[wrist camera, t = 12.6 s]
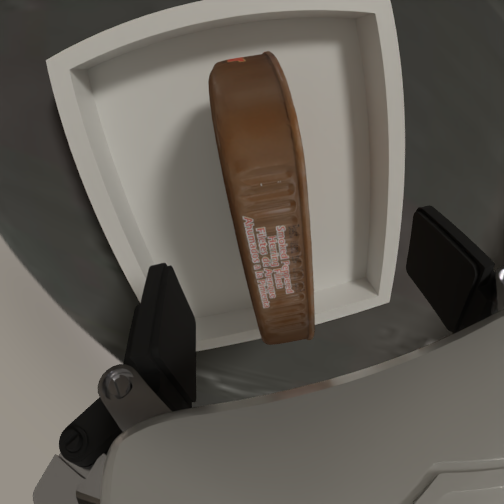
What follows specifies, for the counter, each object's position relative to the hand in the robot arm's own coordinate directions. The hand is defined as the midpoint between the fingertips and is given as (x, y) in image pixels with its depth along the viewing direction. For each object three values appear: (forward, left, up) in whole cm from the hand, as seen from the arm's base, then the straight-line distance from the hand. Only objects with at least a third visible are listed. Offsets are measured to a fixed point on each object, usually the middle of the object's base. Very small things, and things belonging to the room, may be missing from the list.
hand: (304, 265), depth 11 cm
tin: (+1, 0, -9) cm, 9 cm away
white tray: (+1, 0, -9) cm, 9 cm away
